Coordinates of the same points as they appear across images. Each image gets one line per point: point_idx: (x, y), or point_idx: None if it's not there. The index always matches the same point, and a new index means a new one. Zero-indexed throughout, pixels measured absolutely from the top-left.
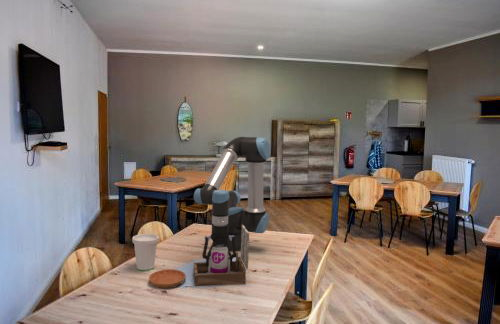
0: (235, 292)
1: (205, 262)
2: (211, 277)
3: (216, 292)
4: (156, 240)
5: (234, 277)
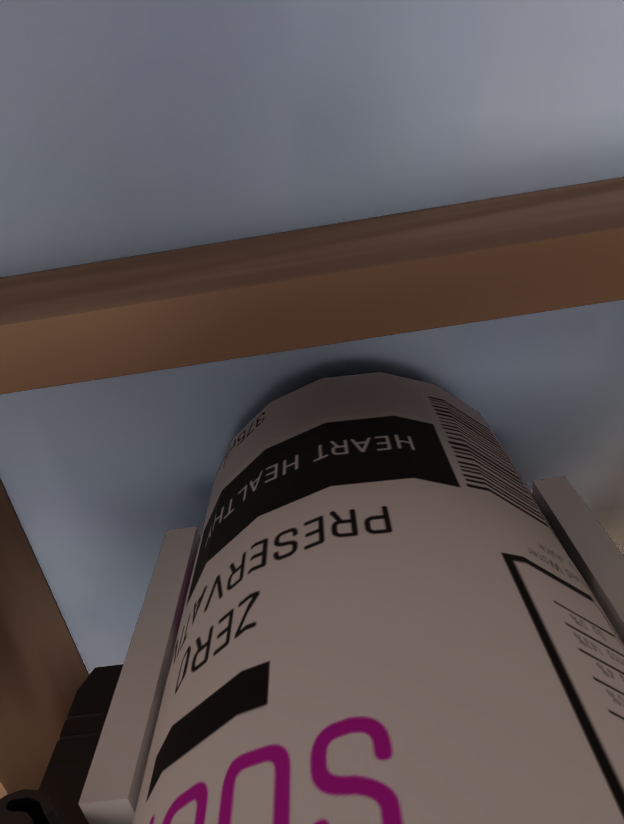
0: None
1: (2, 349)
2: None
3: None
4: None
5: None
